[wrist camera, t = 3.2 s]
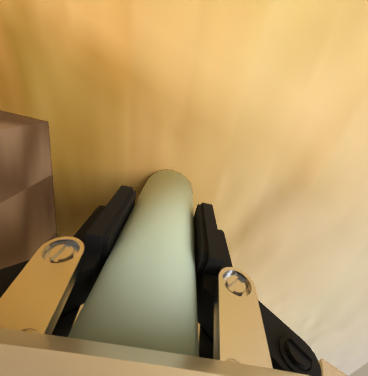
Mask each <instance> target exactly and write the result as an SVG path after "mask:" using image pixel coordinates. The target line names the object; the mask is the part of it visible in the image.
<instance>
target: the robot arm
mask: <svg viewBox="0 0 368 376" xmlns="http://www.w3.org/2000/svg"><path fill="white" fill-rule="evenodd" d="M135 197H136V191H133V188H132V187H127V186H121V187H120V189H119V190H118V191H117V193H116V194H115V195H114V196H113V198H112V199H111V200H110V202H109V203H108V204H107V206H99V207H98V208H97V209H96V210H95V211H94V212H93V214H92V215H91V216H90V217H89V218H88V220H87V221H86V222H85V223H84V224H83V226H82V227H81V228H80V229H79V230H78V232H77V233H76V234H75V235H74V236H73V237H70V236H66V237H58V238H55V239H52V240H49V241H48V242H46V243H44V244H43V245H42V246H41V247H40V248H39V249H38V250H37V252H36V253H35V254H34V255H33V257H32V258H31V259H30V260H27V261H24V262H21V263H18V264H15V265H12V266H9V267H6V268H3V269H0V376H347V375H346V374H344V373H343V372H341V371H340V370H338V369H337V368H336V367H334V366H333V365H331V364H330V363H328V362H327V361H325V360H324V359H321V360H320V361H319V360H317V358H316V356H315V354H314V353H313V351H312V350H311V348H310V347H309V346H308V345H307V344H306V343H305V342H304V341H303V340H302V339H301V338H300V337H299V336H298V335H297V334H296V333H294V332H293V331H292V330H291V329H290V328H289V327H288V326H287V325H285V324H284V323H283V322H282V321H281V320H280V319H279V318H278V317H276V316H275V315H274V314H273V313H272V312H271V311H270V310H269V309H267V308H266V307H265V306H264V305H263V304H262V303H261V302H260V301H258V298H257V293H256V289H255V286H254V283H253V281H252V280H251V278H250V277H249V276H248V275H247V274H246V273H244V272H243V271H241V270H239V269H237V268H233V266H232V263H231V259H230V255H229V251H228V247H227V243H226V239H225V236H224V232H223V231H222V230H218V229H217V224H216V220H215V215H214V211H213V206H212V205H211V204H206V203H202V204H201V205H199V204H198V205H197V208H196V211H195V215H194V241H195V267H196V291H197V315H198V340H199V357H196V356H189V355H183V354H176V353H170V352H163V351H156V350H150V349H143V348H136V347H130V346H123V345H116V344H109V343H103V342H96V341H89V340H82V339H76V338H69V337H68V335H69V333H70V331H71V329H72V327H73V325H74V323H75V321H76V319H77V317H78V315H79V313H80V311H81V309H82V308H83V306H84V303H85V302H86V300H87V298H88V296H89V294H90V292H91V290H92V288H93V286H94V284H95V282H96V280H97V278H98V276H99V274H100V272H101V270H102V268H103V266H104V264H105V262H106V260H107V258H108V256H109V254H110V252H111V250H112V249H113V247H114V245H115V243H116V241H117V239H118V237H119V235H120V233H121V231H122V229H123V227H124V225H125V223H126V221H127V219H128V217H129V215H130V213H131V211H132V209H133V207H134V204H135Z"/></svg>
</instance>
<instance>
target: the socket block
mask: <svg viewBox="0 0 368 376" xmlns="http://www.w3.org/2000/svg"><path fill="white" fill-rule="evenodd" d="M55 238H57V232H56V219H55V206H54V192H53V179H52V166H51V153H50V139H49V126H48V122H47V121H43V120H38V119H34V118H30V117H26V116H21V115H17V114H13V113H8V112H4V111H0V269H3V268H6V267H9V266H12V265H15V264H18V263H21V262H24V261H27V260H30V259H31V258H32V257H33V255H34V254H35V253H36V252H37V250H38V249H39V248H40V247H41V246H42V245H43V244H44V243H46V242H48V241H49V240H52V239H55Z"/></svg>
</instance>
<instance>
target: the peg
mask: <svg viewBox="0 0 368 376" xmlns="http://www.w3.org/2000/svg"><path fill="white" fill-rule="evenodd" d="M68 337H69V338H76V339H82V340H89V341H96V342H103V343H109V344H116V345H123V346H130V347H136V348H143V349H150V350H156V351H163V352H170V353H176V354H183V355H189V356H196V357H199V340H198V315H197V291H196V267H195V241H194V216H193V191H192V186H191V184H190V182H189V180H188V179H187V178H186V177H185V176H184V175H182V174H181V173H179V172H177V171H173V170H162V171H158V172H156V173H154V174H153V175H151V176H150V177H149V178H148V180H147V181H146V183H145V185H144V187H143V189H142V191H141V193H140V195H139V197H138V199H137V201H136V203H135V205H134V207H133V209H132V211H131V213H130V215H129V217H128V219H127V221H126V223H125V225H124V227H123V229H122V231H121V233H120V235H119V237H118V239H117V241H116V243H115V245H114V247H113V249H112V250H111V252H110V254H109V256H108V258H107V260H106V262H105V264H104V266H103V268H102V270H101V272H100V274H99V276H98V278H97V280H96V282H95V284H94V286H93V288H92V290H91V292H90V294H89V296H88V298H87V300H86V302H85V304H84V306H83V308H82V309H81V311H80V313H79V315H78V317H77V319H76V321H75V323H74V325H73V327H72V329H71V331H70V333H69V335H68Z"/></svg>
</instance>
